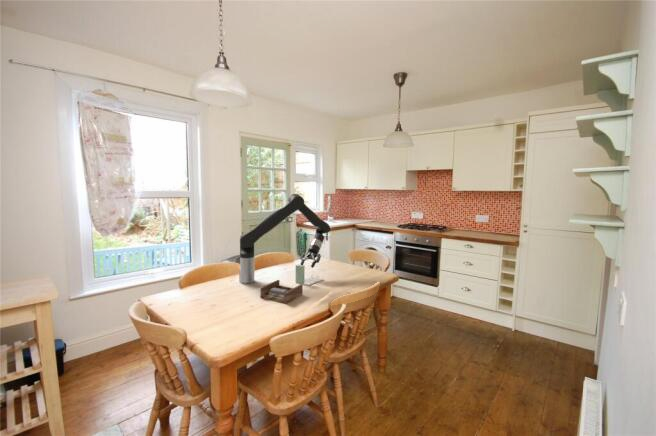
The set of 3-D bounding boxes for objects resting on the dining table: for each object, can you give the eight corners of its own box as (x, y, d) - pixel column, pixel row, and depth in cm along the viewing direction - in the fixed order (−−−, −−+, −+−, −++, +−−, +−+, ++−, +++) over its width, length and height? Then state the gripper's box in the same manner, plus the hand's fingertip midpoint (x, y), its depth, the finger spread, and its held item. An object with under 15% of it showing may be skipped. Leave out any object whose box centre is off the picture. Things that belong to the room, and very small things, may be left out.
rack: (260, 299, 162) (260, 287, 161) (277, 291, 176) (277, 279, 175) (286, 306, 154) (286, 293, 153) (302, 296, 168) (302, 284, 167)
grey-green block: (295, 283, 188) (295, 265, 187) (298, 281, 191) (298, 264, 190) (301, 284, 186) (302, 266, 185) (304, 283, 188) (304, 265, 187)
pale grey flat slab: (278, 288, 182) (291, 293, 175) (278, 284, 182) (291, 288, 175) (310, 277, 207) (323, 281, 199) (310, 273, 206) (323, 277, 199)
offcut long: (267, 297, 163) (267, 292, 163) (273, 294, 168) (273, 290, 167) (284, 301, 158) (284, 296, 157) (290, 298, 162) (290, 293, 162)
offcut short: (269, 293, 162) (269, 289, 162) (273, 290, 166) (273, 287, 166) (283, 295, 159) (283, 292, 159) (287, 293, 163) (287, 289, 163)
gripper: (304, 242, 204) (295, 261, 195) (322, 244, 197) (313, 264, 188) (308, 248, 209) (300, 267, 200) (325, 250, 202) (317, 270, 194)
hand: (306, 266), depth 194 cm, fingers open, 8 cm apart
